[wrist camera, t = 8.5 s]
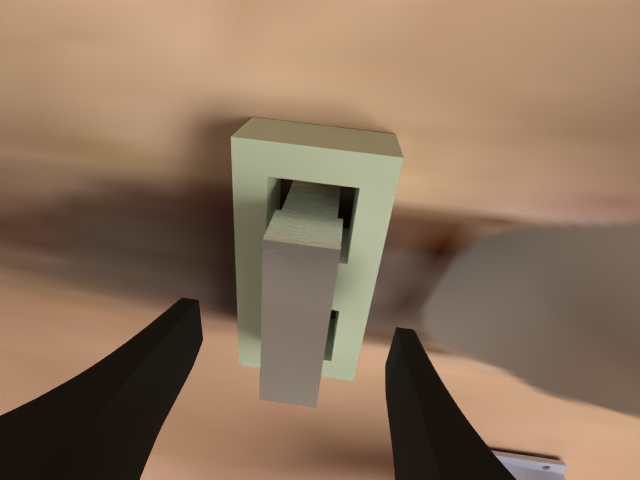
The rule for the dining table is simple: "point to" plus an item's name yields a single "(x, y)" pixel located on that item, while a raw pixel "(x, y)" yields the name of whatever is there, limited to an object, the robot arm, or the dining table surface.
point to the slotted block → (357, 241)
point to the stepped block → (298, 291)
